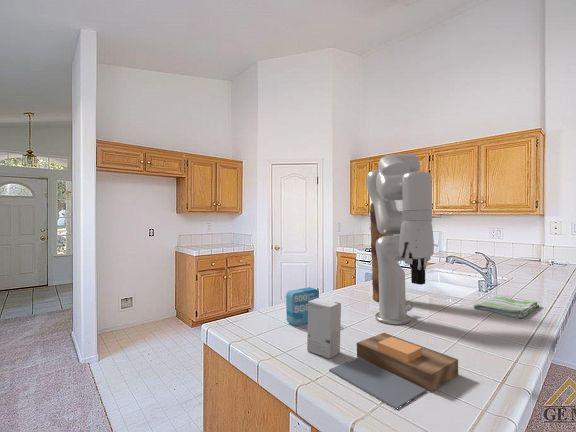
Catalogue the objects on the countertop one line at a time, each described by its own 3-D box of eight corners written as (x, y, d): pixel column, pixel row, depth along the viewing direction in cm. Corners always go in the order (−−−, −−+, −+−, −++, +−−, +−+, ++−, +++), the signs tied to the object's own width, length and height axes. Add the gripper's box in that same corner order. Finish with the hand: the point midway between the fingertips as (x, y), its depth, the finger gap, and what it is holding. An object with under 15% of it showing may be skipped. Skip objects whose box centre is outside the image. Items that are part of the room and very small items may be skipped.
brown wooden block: (384, 345, 95) (383, 332, 95) (458, 375, 77) (458, 359, 77) (356, 356, 88) (356, 342, 88) (431, 392, 70) (431, 374, 70)
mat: (358, 358, 87) (358, 357, 87) (426, 391, 70) (426, 389, 70) (329, 370, 80) (329, 369, 80) (396, 409, 64) (396, 407, 64)
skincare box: (306, 351, 92) (305, 301, 92) (318, 344, 96) (317, 296, 96) (331, 359, 86) (330, 306, 86) (342, 352, 91) (341, 301, 91)
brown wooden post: (375, 295, 152) (374, 203, 152) (397, 298, 146) (396, 202, 145) (367, 300, 144) (365, 202, 143) (390, 304, 137) (389, 201, 137)
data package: (292, 326, 112) (292, 293, 112) (286, 323, 116) (285, 291, 116) (319, 320, 119) (319, 288, 118) (312, 317, 122) (312, 286, 122)
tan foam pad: (377, 349, 83) (377, 342, 83) (391, 343, 87) (391, 336, 87) (408, 362, 76) (407, 354, 76) (422, 355, 79) (421, 347, 79)
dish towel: (471, 310, 129) (471, 301, 129) (493, 300, 143) (493, 292, 143) (522, 321, 115) (522, 311, 115) (540, 308, 129) (540, 299, 129)
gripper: (419, 216, 94) (421, 278, 94) (388, 217, 85) (389, 285, 85) (444, 216, 87) (445, 282, 87) (413, 217, 79) (415, 290, 79)
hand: (418, 283), depth 86 cm, fingers closed
